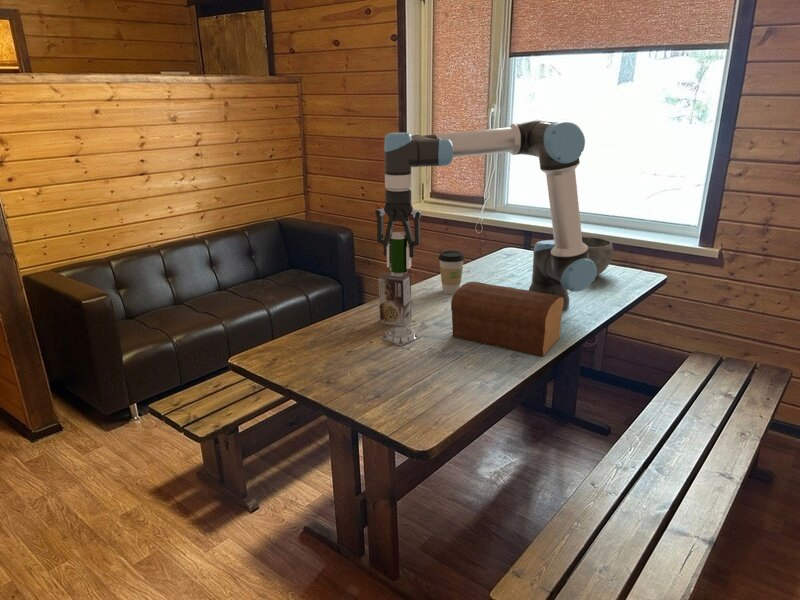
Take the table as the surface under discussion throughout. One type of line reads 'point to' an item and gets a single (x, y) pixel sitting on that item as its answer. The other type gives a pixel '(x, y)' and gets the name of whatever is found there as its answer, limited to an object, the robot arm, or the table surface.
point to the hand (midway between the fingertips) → (399, 266)
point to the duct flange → (400, 335)
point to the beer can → (398, 253)
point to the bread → (507, 317)
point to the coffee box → (395, 299)
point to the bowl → (599, 252)
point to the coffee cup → (451, 270)
